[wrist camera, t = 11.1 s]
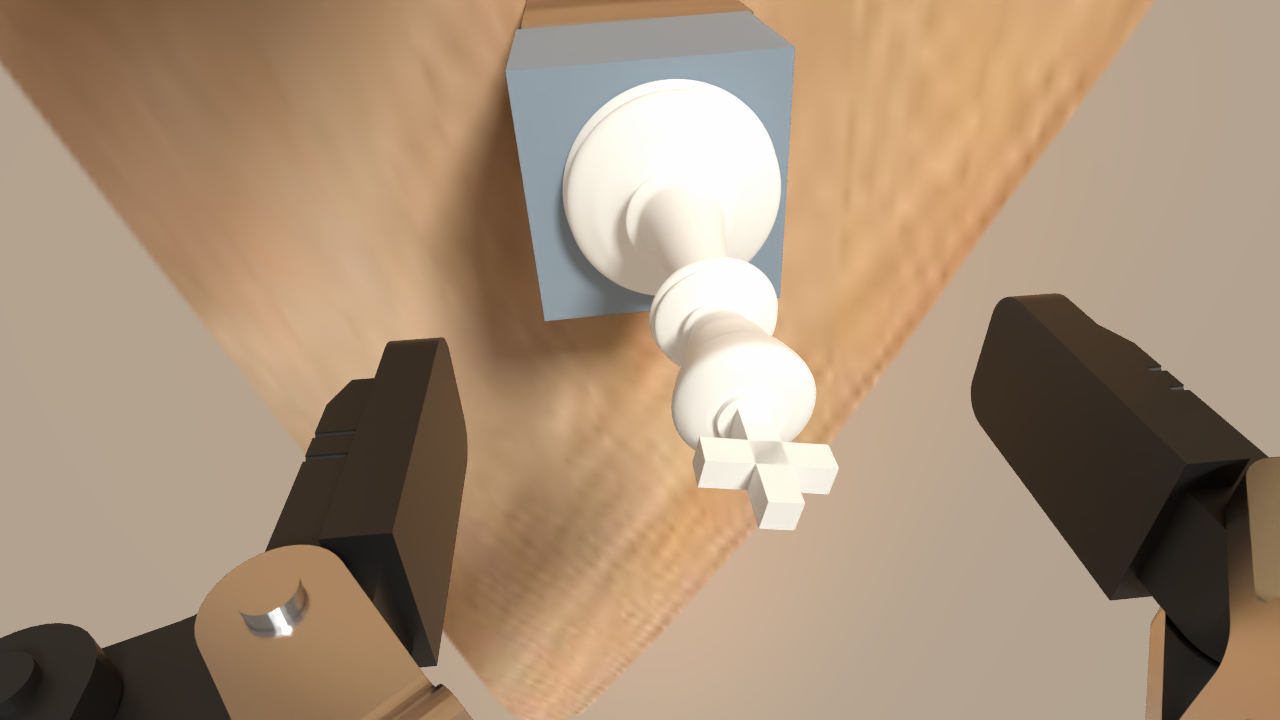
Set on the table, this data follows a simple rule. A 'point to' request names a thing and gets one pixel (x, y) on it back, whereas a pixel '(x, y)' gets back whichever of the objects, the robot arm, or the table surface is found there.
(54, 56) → the table surface
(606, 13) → the walnut block
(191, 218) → the table surface
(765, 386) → the chess piece
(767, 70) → the slate-blue block
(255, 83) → the table surface
